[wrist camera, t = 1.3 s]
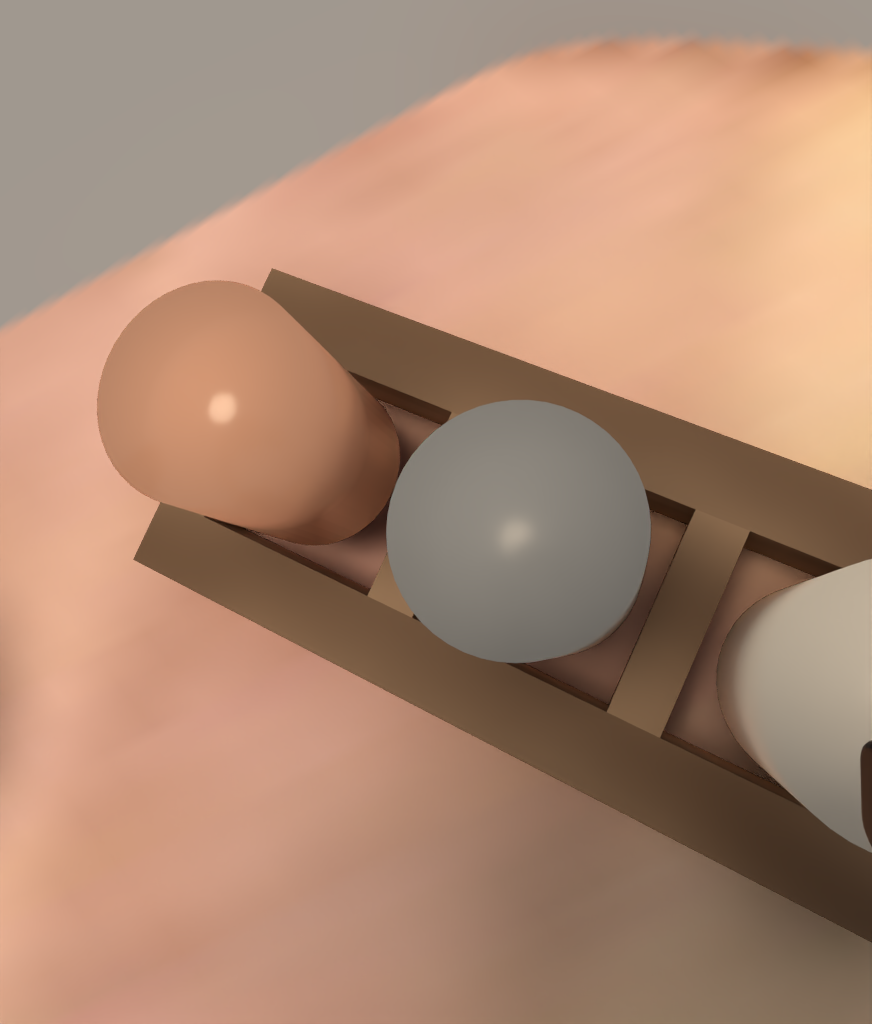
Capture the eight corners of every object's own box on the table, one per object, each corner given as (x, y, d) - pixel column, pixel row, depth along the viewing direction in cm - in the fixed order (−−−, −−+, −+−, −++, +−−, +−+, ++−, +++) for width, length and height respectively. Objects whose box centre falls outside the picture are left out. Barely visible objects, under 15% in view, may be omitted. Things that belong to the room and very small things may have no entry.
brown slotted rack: (892, 930, 19) (930, 972, 16) (181, 567, 25) (133, 559, 22) (1036, 581, 19) (1095, 572, 17) (306, 304, 25) (271, 268, 23)
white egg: (986, 688, 17) (1178, 711, 11) (835, 837, 17) (944, 939, 11) (813, 542, 18) (902, 493, 12) (673, 683, 18) (695, 702, 12)
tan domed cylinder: (435, 455, 20) (358, 379, 14) (314, 581, 20) (191, 556, 15) (321, 346, 21) (208, 237, 16) (208, 466, 22) (56, 401, 16)
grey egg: (684, 560, 18) (710, 522, 13) (549, 697, 19) (516, 721, 13) (545, 435, 20) (511, 348, 14) (420, 565, 20) (336, 533, 14)
